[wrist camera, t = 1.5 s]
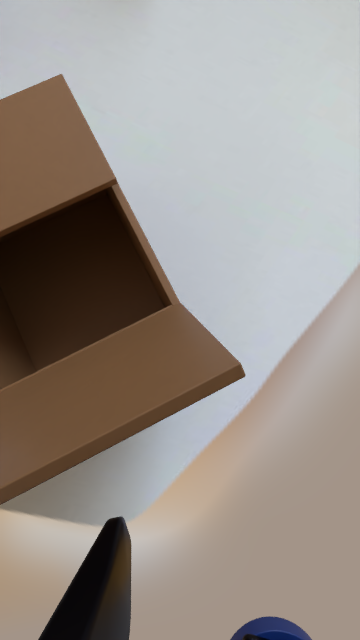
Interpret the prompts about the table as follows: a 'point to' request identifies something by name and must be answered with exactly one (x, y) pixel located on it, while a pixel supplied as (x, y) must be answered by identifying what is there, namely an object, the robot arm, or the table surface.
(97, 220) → the carton
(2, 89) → the table surface
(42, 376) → the flap
